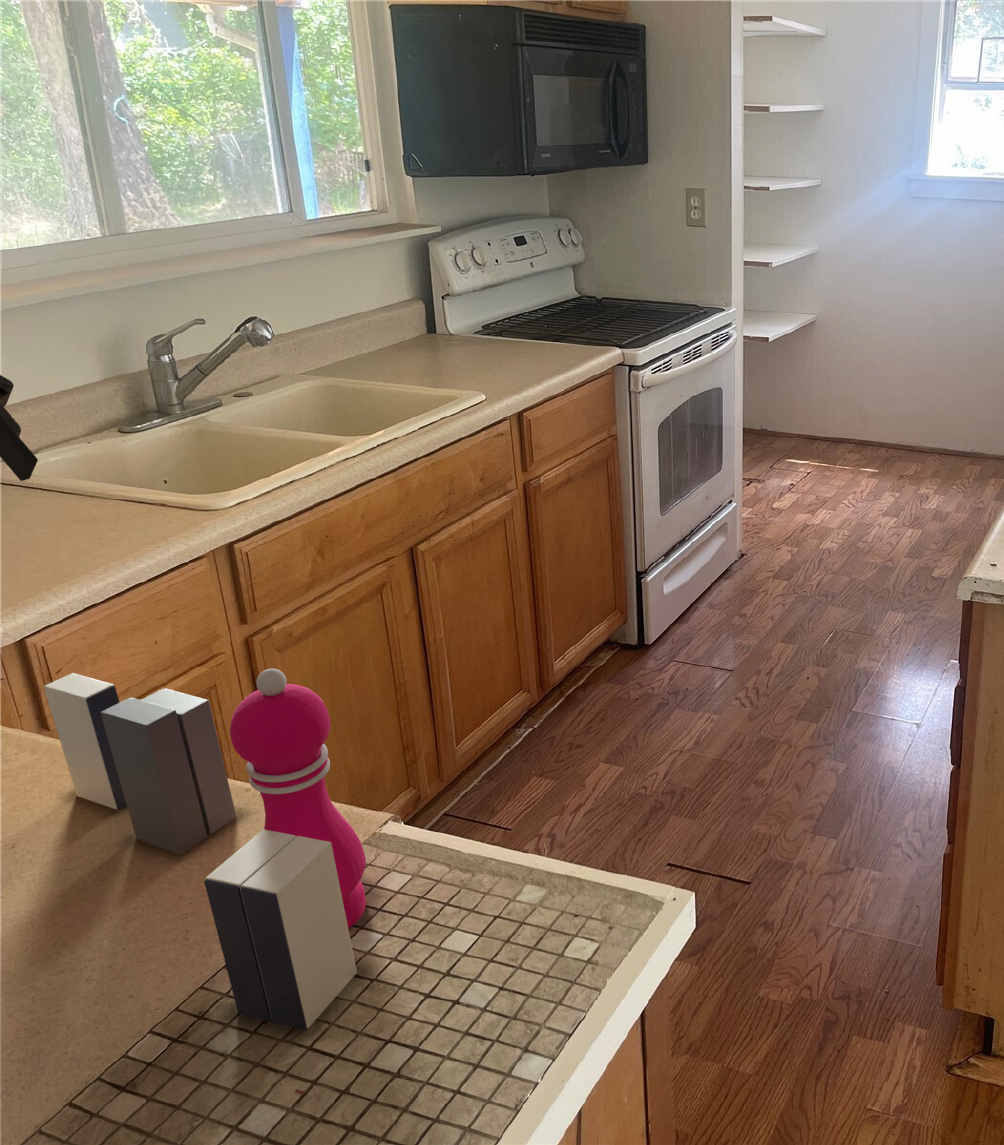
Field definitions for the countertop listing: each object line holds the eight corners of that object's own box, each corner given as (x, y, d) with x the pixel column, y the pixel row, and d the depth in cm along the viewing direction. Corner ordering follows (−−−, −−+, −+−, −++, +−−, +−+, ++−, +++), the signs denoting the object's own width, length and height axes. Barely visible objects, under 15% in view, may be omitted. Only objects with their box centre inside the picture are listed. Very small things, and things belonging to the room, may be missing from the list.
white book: (119, 815, 88) (86, 698, 84) (77, 801, 90) (42, 686, 86) (146, 799, 90) (115, 684, 86) (105, 785, 92) (72, 672, 88)
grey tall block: (239, 1020, 68) (202, 879, 64) (293, 963, 72) (262, 828, 68) (307, 1037, 66) (275, 894, 62) (358, 978, 71) (331, 841, 67)
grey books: (182, 860, 83) (146, 725, 78) (137, 844, 85) (99, 711, 80) (238, 822, 87) (207, 693, 83) (194, 808, 89) (162, 680, 84)
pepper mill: (375, 939, 74) (328, 686, 67) (262, 965, 72) (200, 706, 64) (373, 876, 81) (329, 638, 73) (269, 898, 78) (212, 655, 71)
